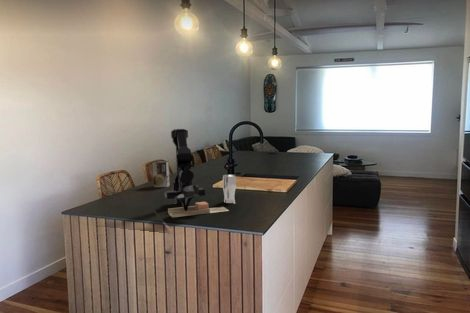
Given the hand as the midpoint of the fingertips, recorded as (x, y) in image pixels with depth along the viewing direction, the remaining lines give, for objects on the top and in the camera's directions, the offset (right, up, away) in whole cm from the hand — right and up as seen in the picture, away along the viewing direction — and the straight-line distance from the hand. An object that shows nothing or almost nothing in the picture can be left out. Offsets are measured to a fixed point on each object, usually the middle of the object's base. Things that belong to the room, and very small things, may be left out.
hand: (185, 211), depth 184 cm
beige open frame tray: (+6, -2, +3) cm, 7 cm away
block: (+7, -1, +3) cm, 8 cm away
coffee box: (-25, +6, +70) cm, 74 cm away
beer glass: (+20, +1, +23) cm, 31 cm away
